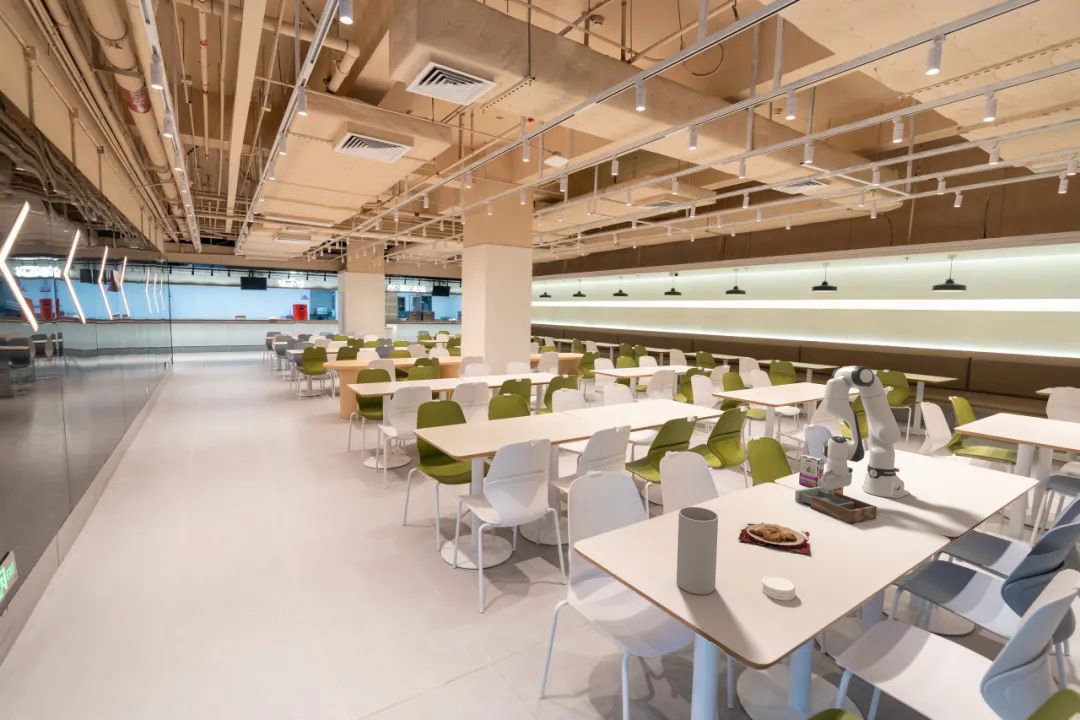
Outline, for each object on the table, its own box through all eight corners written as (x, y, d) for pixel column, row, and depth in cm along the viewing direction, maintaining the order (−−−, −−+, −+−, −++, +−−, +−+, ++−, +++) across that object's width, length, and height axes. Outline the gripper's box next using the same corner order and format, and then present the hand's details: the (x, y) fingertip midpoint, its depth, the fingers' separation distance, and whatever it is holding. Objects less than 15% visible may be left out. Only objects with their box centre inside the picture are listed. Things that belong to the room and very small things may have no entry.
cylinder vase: (721, 585, 168) (724, 513, 166) (705, 600, 159) (708, 524, 157) (686, 572, 176) (688, 504, 174) (669, 586, 167) (672, 514, 165)
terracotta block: (834, 498, 253) (834, 486, 253) (842, 501, 249) (843, 489, 249) (827, 499, 252) (828, 487, 251) (836, 502, 247) (836, 490, 247)
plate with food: (809, 558, 190) (810, 549, 190) (738, 541, 202) (738, 533, 202) (808, 535, 211) (809, 527, 211) (744, 522, 223) (744, 514, 223)
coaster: (784, 585, 169) (785, 575, 169) (801, 601, 159) (801, 591, 159) (756, 585, 169) (756, 575, 169) (770, 601, 159) (771, 591, 159)
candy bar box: (823, 489, 267) (824, 459, 266) (817, 490, 265) (818, 460, 264) (804, 482, 278) (806, 454, 276) (798, 483, 275) (799, 454, 274)
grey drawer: (819, 497, 253) (819, 486, 253) (856, 511, 235) (856, 499, 235) (794, 501, 247) (795, 490, 247) (830, 515, 229) (831, 504, 229)
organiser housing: (835, 504, 245) (836, 492, 244) (875, 519, 226) (876, 506, 226) (810, 508, 239) (811, 496, 238) (850, 524, 220) (850, 511, 220)
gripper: (830, 473, 242) (828, 501, 243) (855, 468, 251) (853, 495, 252) (817, 470, 247) (816, 497, 248) (842, 465, 257) (840, 491, 258)
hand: (835, 496), depth 250 cm, fingers closed on terracotta block, 5 cm apart
